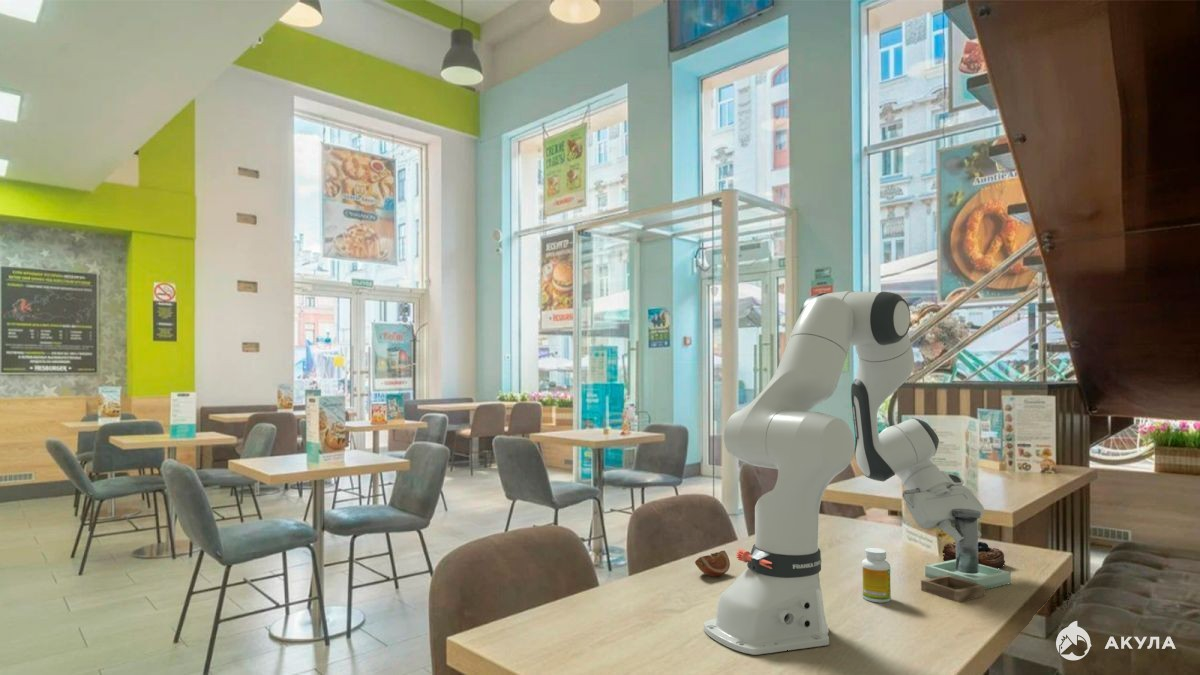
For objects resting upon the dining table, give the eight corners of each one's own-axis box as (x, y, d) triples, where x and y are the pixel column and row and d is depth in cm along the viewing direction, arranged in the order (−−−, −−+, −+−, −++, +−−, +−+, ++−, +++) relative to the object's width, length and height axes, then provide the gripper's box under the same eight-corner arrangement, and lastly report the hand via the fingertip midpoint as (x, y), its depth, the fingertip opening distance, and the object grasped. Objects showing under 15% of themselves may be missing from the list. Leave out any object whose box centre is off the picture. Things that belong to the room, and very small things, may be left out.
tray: (976, 592, 142) (976, 580, 142) (925, 576, 153) (925, 565, 153) (1010, 583, 148) (1010, 572, 148) (959, 569, 159) (958, 558, 159)
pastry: (965, 555, 171) (965, 531, 171) (1013, 568, 160) (1012, 543, 161) (936, 561, 166) (936, 536, 166) (983, 574, 155) (983, 548, 156)
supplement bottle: (893, 604, 135) (892, 554, 135) (864, 602, 136) (864, 552, 136) (887, 595, 140) (886, 547, 141) (860, 593, 141) (859, 546, 142)
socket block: (958, 602, 136) (958, 592, 136) (921, 590, 144) (921, 580, 144) (984, 595, 140) (984, 585, 140) (946, 584, 147) (946, 574, 148)
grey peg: (971, 575, 147) (970, 515, 147) (947, 569, 152) (946, 510, 152) (987, 572, 149) (986, 512, 150) (963, 565, 154) (962, 507, 155)
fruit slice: (709, 582, 148) (709, 559, 148) (687, 575, 153) (687, 552, 154) (735, 575, 153) (735, 553, 153) (713, 568, 159) (713, 546, 159)
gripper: (907, 482, 153) (948, 536, 144) (964, 475, 162) (1006, 526, 153) (890, 499, 156) (929, 552, 147) (947, 491, 166) (987, 541, 157)
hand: (969, 539), depth 150 cm, fingers closed on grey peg, 4 cm apart
